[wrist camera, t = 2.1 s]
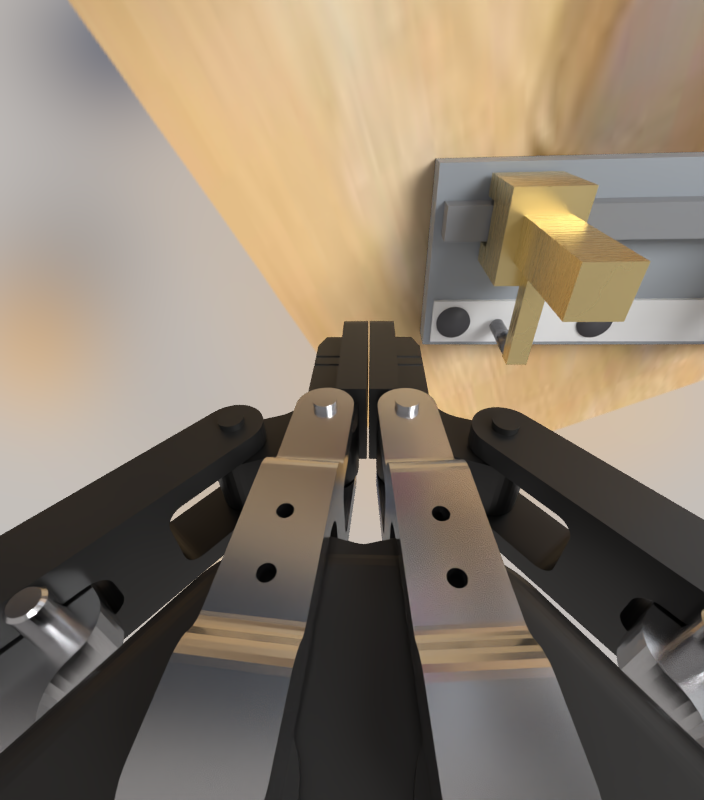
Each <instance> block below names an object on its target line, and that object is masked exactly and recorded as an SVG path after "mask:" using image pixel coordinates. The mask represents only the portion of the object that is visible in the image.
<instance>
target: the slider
mask: <svg viewBox="0 0 704 800" xmlns="http://www.w3.org/2000/svg"><path fill="white" fill-rule="evenodd" d="M598 187H599V185H597V184H595V183H592V182H590V181H587V180H585V179H582V178H580V177H577V176H575V175H572V174H570V173H567V172H565V171H542V172H498V173H492V178H491V184H490V190H489V197H491V198H492V199H493V200H494V206H493V212H492V217H491V223H490V229H489V234H488V240H487V242H481V243H480V249H479V255H478V261H479V263H480V265H481V266H482V268H483V269H484V271H485V273H486V274H487V276H488V277H489V279H490V281H491V282H492V284H493V285H494V286H519V289H518V293H517V297H516V301H515V306H514V310H513V314H512V318H511V322H510V326H509V330H508V329H507V327H506V326H505V324H504V322H503V321H502V320H501V319H495V320H493V321H492V322H491V323H490V325H489V328H490V330H491V332H492V334H493V336H494V338H495V340H496V342H497V344H498V346H499V348H500V350H501V352H502V357H503V359H504V361H505V363H506V365H526V364H527V360H528V357H529V353H530V350H531V347H532V343H533V340H534V336H535V333H536V330H537V326H538V323H539V319H540V316H541V313H542V309H543V306H544V302H545V301H546V303H547V304H548V305H549V306H550V308H551V309H552V310H553V311H554V312H555V314H556V315H557V316H558V317H559V318H560V320H561V321H562V322H624V321H625V319H626V316H627V314H628V312H629V310H630V307H631V305H632V303H633V300H634V298H635V296H636V294H637V291H638V289H639V287H640V285H641V282H642V280H643V278H644V276H645V273H646V271H647V269H648V267H649V264H650V262H651V261H649V260H648V259H646V258H644V257H643V256H641V255H639V254H638V253H636V252H634V251H633V250H631V249H629V248H628V247H626V246H624V245H623V244H621V243H619V242H618V241H616V240H614V239H613V238H611V237H609V236H608V235H606V234H604V233H603V232H601V231H599V230H598V229H596V228H594V227H593V226H591V225H590V224H588V223H587V221H588V218H589V215H590V212H591V208H592V205H593V202H594V199H595V196H596V193H597V190H598Z"/></svg>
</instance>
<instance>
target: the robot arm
mask: <svg viewBox="0 0 704 800" xmlns="http://www.w3.org/2000/svg"><path fill="white" fill-rule="evenodd" d="M367 410H368V321H345V322H344V328H343V335H342V337H327V338H326V339H325V340H324V341H323V342H322V343H321V344H320V345H319V346H318V351H317V355H316V360H315V366H314V369H313V374H312V378H311V383H310V387H309V392H308V393H306V394H304V395H303V396H302V397H300V399H299V400H298V402H297V404H296V406H295V409H294V411H292V412H290V413H288V414H285V415H281V416H277V417H272V418H268V419H263V417H262V414H261V413H260V411H258V410H257V409H255V408H253V407H250V406H246V405H234V406H229V407H225V408H222V409H219V410H217V411H215V412H213V413H212V414H210V415H208V416H206V417H205V418H203V419H201V420H200V421H198V422H196V423H194V424H193V425H191V426H189V427H188V428H186V429H184V430H182V431H181V432H179V433H177V434H175V435H174V436H172V437H170V438H168V439H167V440H165V441H163V442H161V443H160V444H158V445H156V446H155V447H153V448H151V449H150V450H148V451H146V452H144V453H142V454H141V455H139V456H137V457H135V458H134V459H132V460H131V461H129V462H127V463H125V464H123V465H122V466H120V467H118V468H117V469H115V470H113V471H111V472H110V473H108V474H106V475H104V476H103V477H101V478H99V479H97V480H96V481H94V482H92V483H91V484H89V485H87V486H85V487H84V488H82V489H80V490H79V491H77V492H75V493H73V494H72V495H70V496H68V497H66V498H65V499H63V500H61V501H59V502H58V503H56V504H54V505H52V506H51V507H49V508H47V509H46V510H44V511H42V512H40V513H39V514H37V515H35V516H33V517H32V518H30V519H28V520H26V521H25V522H23V523H22V524H20V525H18V526H16V527H14V528H13V529H11V530H10V531H7V532H6V533H4V534H2V535H0V800H704V520H703V519H701V518H700V517H698V516H696V515H695V514H693V513H691V512H689V511H688V510H686V509H684V508H682V507H681V506H679V505H677V504H676V503H674V502H672V501H671V500H669V499H667V498H666V497H664V496H662V495H660V494H659V493H657V492H655V491H654V490H652V489H650V488H648V487H647V486H645V485H643V484H641V483H640V482H638V481H637V480H635V479H633V478H631V477H630V476H628V475H626V474H624V473H623V472H621V471H619V470H618V469H616V468H614V467H612V466H611V465H609V464H607V463H606V462H604V461H602V460H601V459H599V458H597V457H595V456H594V455H592V454H590V453H589V452H587V451H585V450H584V449H582V448H580V447H578V446H577V445H575V444H573V443H572V442H570V441H568V440H566V439H565V438H563V437H561V436H560V435H558V434H556V433H554V432H553V431H551V430H549V429H548V428H546V427H544V426H542V425H541V424H539V423H537V422H536V421H534V420H532V419H531V418H529V417H527V416H525V415H524V414H522V413H520V412H517V411H515V410H511V409H507V408H500V407H493V408H487V409H483V410H481V411H479V412H478V413H476V414H475V416H474V417H473V419H472V420H468V419H464V418H459V417H455V416H452V415H449V414H447V413H445V412H443V411H441V410H439V409H438V408H437V405H436V402H435V400H434V399H433V398H432V397H431V396H430V395H429V394H428V388H427V383H426V378H425V372H424V367H423V362H422V358H421V351H420V346H419V345H418V344H417V343H416V342H415V341H414V340H413V339H412V338H411V337H395V329H394V321H370V361H369V458H370V459H376V461H377V462H376V468H377V474H376V475H377V476H376V478H377V479H376V486H377V495H378V505H379V514H380V522H381V523H380V524H381V533H382V541H378V542H374V543H369V544H358V543H354V542H350V541H348V538H349V531H350V524H351V517H352V510H353V503H354V496H355V489H356V475H357V473H358V468H359V459H366V458H367ZM216 481H219V484H220V487H219V488H218V489H216V490H215V491H213V492H212V493H211V494H209V495H208V496H206V497H205V498H203V499H202V500H201V501H199V502H198V503H197V504H195V505H194V506H192V507H191V508H190V509H188V510H187V511H185V512H184V513H183V514H181V515H180V516H178V517H177V518H175V519H174V520H173V521H171V522H170V520H171V518H172V516H173V514H174V513H175V512H176V510H177V509H179V508H180V507H181V506H182V505H184V504H185V503H187V502H188V501H189V500H191V499H192V498H193V497H195V496H197V495H198V494H199V493H201V492H202V491H203V490H205V489H206V488H208V487H209V486H211V485H212V484H214V483H215V482H216ZM520 488H521V489H523V490H524V491H525V492H527V493H528V494H530V495H531V496H532V497H534V498H535V499H536V500H538V501H539V502H541V503H542V504H543V505H545V506H546V507H547V508H549V509H550V510H551V511H553V512H554V513H556V514H557V515H558V516H559V517H560V518H561V519H563V521H564V522H565V523H566V525H567V526H568V528H569V529H567V528H566V527H564V526H563V525H562V524H560V523H559V522H557V521H556V520H555V519H554V518H552V517H551V516H550V515H548V514H547V513H546V512H544V511H543V510H541V509H540V508H539V507H537V506H536V505H535V504H533V503H532V502H531V501H529V500H528V499H527V498H525V497H524V496H523V495H521V494H520V493H519V490H520ZM500 553H501V554H503V555H504V556H505V557H506V558H507V559H508V560H509V561H510V562H512V563H513V564H514V565H515V566H516V567H517V568H518V569H519V570H521V571H522V572H523V573H524V574H525V575H526V576H527V577H528V578H529V579H531V580H532V581H533V582H534V583H535V584H536V585H537V586H538V587H540V588H541V589H542V590H543V591H544V592H545V593H546V594H548V595H549V596H550V597H551V598H552V599H553V600H554V601H555V602H557V603H558V604H559V605H560V606H561V607H562V608H563V609H564V610H565V611H567V612H568V613H569V614H570V615H571V616H572V617H573V618H574V619H576V620H577V621H578V622H579V623H580V624H581V625H582V626H583V627H584V628H586V629H587V630H588V631H589V632H590V633H591V634H592V635H593V636H595V637H596V638H597V639H598V640H599V641H600V642H601V643H602V644H604V645H605V646H606V647H607V648H608V649H609V650H610V651H612V652H613V653H614V654H615V655H616V656H617V662H618V666H619V667H618V666H617V665H616V664H615V663H613V662H612V661H611V660H610V659H609V658H608V657H607V656H606V655H605V654H604V653H603V652H602V651H601V650H600V649H599V648H598V647H597V646H595V644H593V643H592V642H591V641H590V640H589V639H588V638H587V637H586V636H585V635H584V634H583V633H582V632H581V631H580V630H579V629H578V628H577V627H576V626H575V625H573V624H572V623H571V622H570V621H569V620H568V619H567V618H566V617H565V616H564V615H563V614H562V613H561V612H560V611H559V610H558V609H556V608H555V607H554V606H553V605H552V604H551V603H550V602H549V601H548V600H547V599H546V598H545V597H544V596H543V595H542V594H541V593H540V592H539V591H538V590H537V589H536V588H534V587H533V586H532V585H531V584H530V583H529V582H528V581H526V580H525V579H524V578H523V577H521V576H520V575H519V574H517V573H516V572H515V571H513V570H512V569H510V568H508V567H507V566H505V565H504V563H503V560H502V558H501V554H500ZM223 555H224V556H223ZM222 556H223V558H222V560H221V561H219V562H218V563H216V564H215V565H213V566H212V567H210V566H211V565H212V564H214V563H215V562H216V561H217V560H218V559H219V558H221V557H222ZM209 567H210V568H209ZM208 568H209V569H208ZM207 569H208V570H207ZM205 570H206V571H205ZM204 571H205V572H204ZM199 575H200V576H199ZM198 576H199V577H198ZM192 581H193V582H192ZM191 582H192V583H191ZM190 583H191V584H190ZM189 584H190V585H189ZM188 585H189V586H188ZM186 586H187V587H186ZM185 587H186V588H185ZM184 588H185V589H184ZM183 589H184V590H183ZM182 590H183V591H182ZM180 591H182V592H181V593H179V592H180ZM178 593H179V594H178ZM177 594H178V595H177ZM176 595H177V596H176ZM175 596H176V597H175ZM173 597H175V598H174V599H173V600H172V601H171V602H169V601H170V600H171V599H172V598H173ZM167 602H169V603H168V604H167V605H166V606H165V607H164V608H163V609H162V610H160V611H159V612H158V613H157V614H156V615H155V616H154V617H153V618H151V619H150V620H149V621H148V622H147V623H146V624H145V625H144V626H143V627H141V628H140V629H139V630H138V631H137V632H136V633H135V634H134V635H132V636H131V637H130V638H129V639H128V640H127V641H126V642H125V643H123V640H124V639H125V638H126V637H127V636H128V635H130V634H131V633H132V632H133V631H134V630H135V629H137V628H138V627H139V626H140V625H141V624H142V623H144V622H145V621H146V620H147V619H149V618H150V617H151V616H152V615H153V614H154V613H156V612H157V611H158V610H159V609H160V608H162V607H163V606H164V605H165V604H166V603H167Z"/></svg>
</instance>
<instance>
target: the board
mask: <svg viewBox="0 0 704 800" xmlns="http://www.w3.org/2000/svg"><path fill="white" fill-rule="evenodd" d="M542 171H565V172H567V173H570V174H572V175H575V176H577V177H580V178H582V179H585V180H587V181H590V182H592V183H595V184H597V185H599V187H598V190H597V193H596V196H595V199H594V202H593V205H592V208H591V212H590V215H589V218H588V221H587V223H588V224H590V225H591V226H593V227H594V228H596V229H598V230H599V231H601V232H603V233H604V234H606V235H608V236H609V237H611V238H613V239H614V240H616V241H618V242H619V243H621V244H623V245H624V246H626V247H628V248H629V249H631V250H633V251H634V252H636V253H638V254H639V255H641V256H643V257H644V258H646V259H648V260H649V261H651V262H650V264H649V267H648V269H647V271H646V273H645V276H644V278H643V280H642V282H641V285H640V287H639V289H638V291H637V294H636V296H635V298H634V300H633V303H632V305H631V307H630V310H629V312H628V314H627V316H626V319H625V321H624V322H562V321H561V320H560V318H559V317H558V316H557V315H556V314H555V312H554V311H553V310H552V309H551V308H550V306H549V305H548V304H547V303H546V301H545V302H544V306H543V309H542V313H541V316H540V319H539V323H538V326H537V330H536V333H535V336H534V340H533V343H532V344H704V152H680V153H640V154H599V155H559V156H519V157H478V158H438V159H436V162H435V173H434V184H433V195H432V206H431V217H430V228H429V239H428V250H427V262H426V273H425V284H424V295H423V306H422V317H421V328H420V334H421V339H422V344H497V342H496V340H495V338H494V336H493V334H492V332H491V330H490V328H489V325H490V323H491V322H492V321H493V320H495V319H501V320H502V321H503V322H504V324H505V326H506V327H507V329H508V330H509V326H510V322H511V318H512V314H513V310H514V306H515V301H516V297H517V293H518V289H519V286H494V285H493V284H492V282H491V281H490V279H489V277H488V276H487V274H486V273H485V271H484V269H483V268H482V266H481V265H480V263H479V261H478V255H479V249H480V243H481V242H487V240H488V234H489V229H490V223H491V217H492V212H493V206H494V200H493V199H492V198H491V197H489V190H490V184H491V178H492V173H498V172H542Z"/></svg>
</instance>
